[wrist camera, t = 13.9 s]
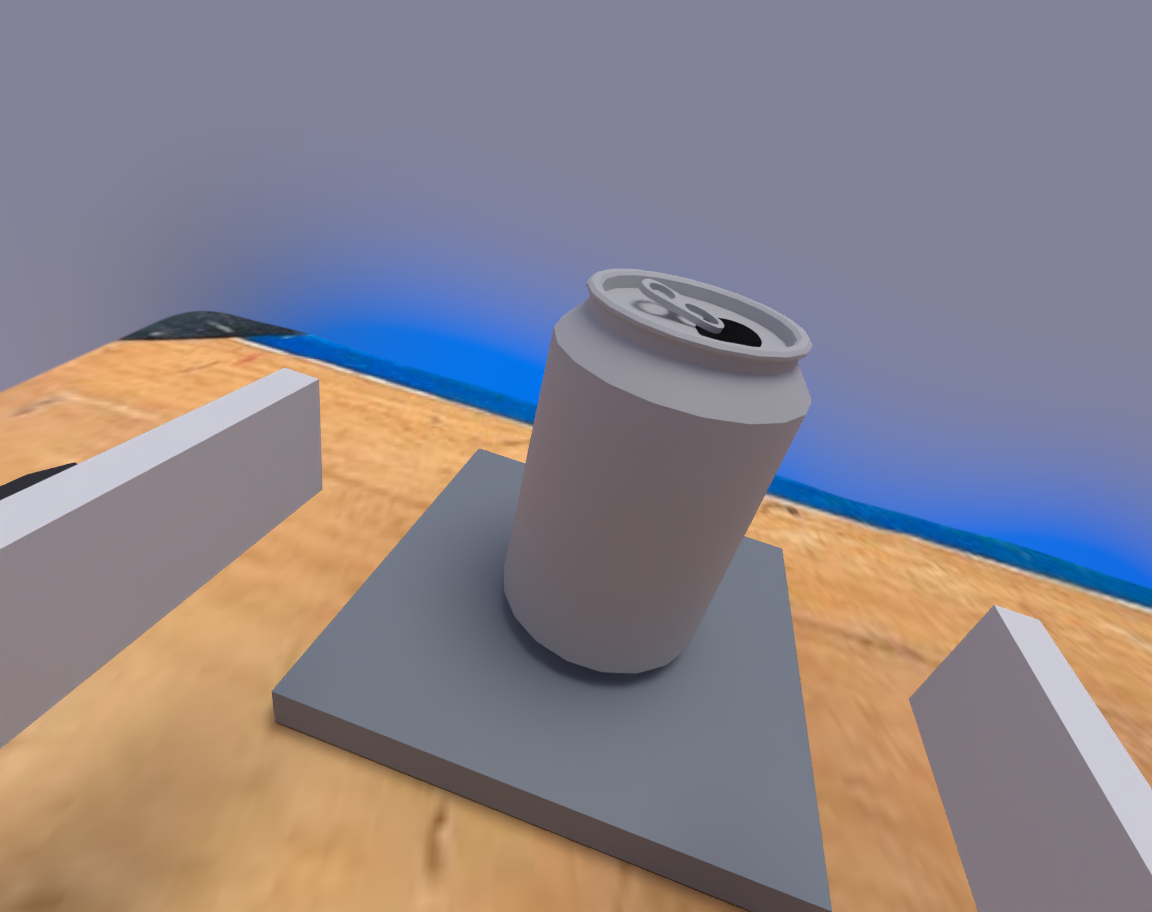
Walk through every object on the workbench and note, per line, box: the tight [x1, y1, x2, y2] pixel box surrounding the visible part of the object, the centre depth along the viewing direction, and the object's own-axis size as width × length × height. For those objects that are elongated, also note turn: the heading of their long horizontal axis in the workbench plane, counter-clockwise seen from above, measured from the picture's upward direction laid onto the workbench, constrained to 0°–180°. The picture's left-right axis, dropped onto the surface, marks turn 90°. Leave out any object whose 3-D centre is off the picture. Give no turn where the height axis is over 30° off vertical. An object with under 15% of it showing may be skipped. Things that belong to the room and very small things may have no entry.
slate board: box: [272, 449, 832, 912], centre depth 21 cm, size 16×15×2 cm
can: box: [504, 269, 812, 674], centre depth 18 cm, size 8×8×12 cm
